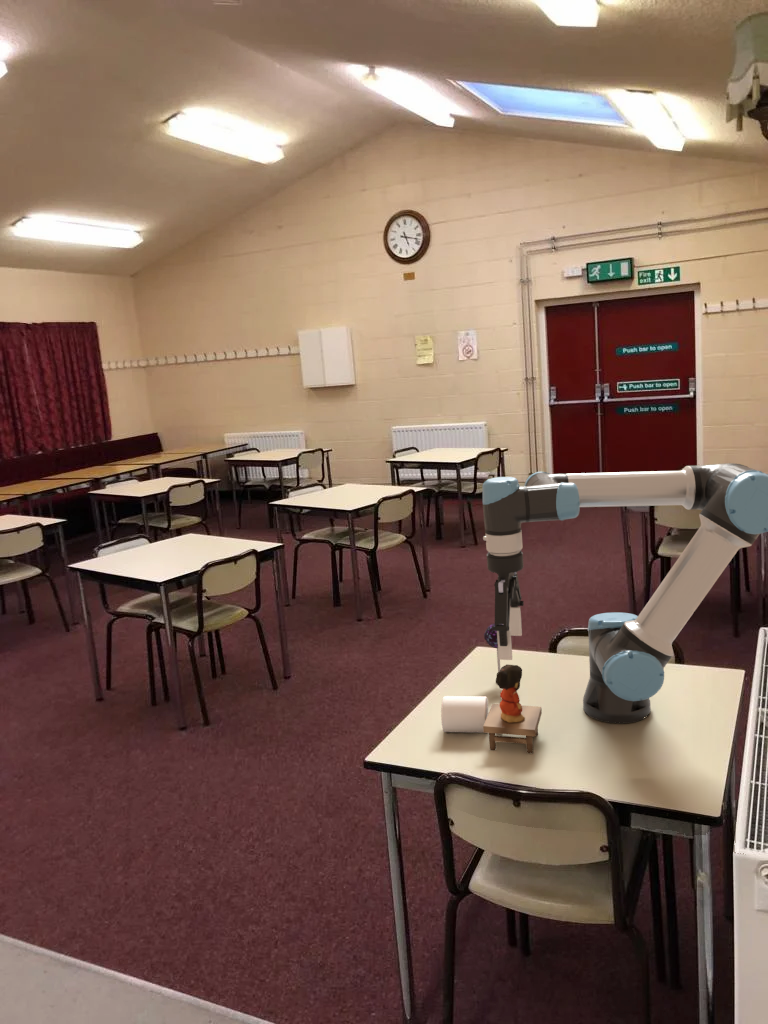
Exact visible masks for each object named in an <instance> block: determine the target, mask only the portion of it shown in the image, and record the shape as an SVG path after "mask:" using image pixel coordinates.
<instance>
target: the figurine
mask: <svg viewBox="0 0 768 1024" xmlns="http://www.w3.org/2000/svg"><path fill="white" fill-rule="evenodd" d="M522 676H523V669H522V667H521V666H519V665H518V664H517V665H515V664H505V665H503V666H502V667H500V671H499V672H498V671H497V673H496V676H495V677H496V678H495V684H496V685H497V686H498V688H499V689H501V692H499V693H500V698H501V701H500V702H499V704H500V708H501V711H502V713H501V719H503V720H504V721H507V722H508V723H512V722H520V721H522V720H524V719H525V717H524V716H523V715H522V714H521V712H522V706H523V705H522V704H521V703H520V701H521V699H520V695H519V693H518V692H517V691H519V689H520V687H521V680H522ZM521 705H522V706H521Z"/></svg>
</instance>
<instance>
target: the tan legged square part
mask: <svg viewBox="0 0 768 1024" xmlns="http://www.w3.org/2000/svg"><path fill="white" fill-rule="evenodd" d="M521 706H522V712H521V714H522V715H523V716H524V717H525V719H524V720H522V721H520V722H512V723H508V722H507V721H504V720H503V719H501V713H502V711H501V708H500V703H492V704H491V707H490V709H489V713H488V716H487V718H486V721H485V723H484V726H483V730H484V734H485V733H486V734H488V741H489V742H488V743H489V745H488V746H489V751H496V750H497V743H498V742H499V743H507V744H508V743H511V744H520V745H521V744H523V745H525V747H526V753H527V754H530V755H531V754H534V742H533V741H534V740H533V738H534V737H536V736H538V735H539V728H538V727H539V724H540V721H541V716H542V706H539V705H538V706H536V705H535V706H533V705H522V704H521ZM498 734H499V735H498ZM506 735H510V736H506ZM511 735H512V736H511ZM518 736H523V737H518Z"/></svg>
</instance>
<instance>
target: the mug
mask: <svg viewBox="0 0 768 1024" xmlns="http://www.w3.org/2000/svg"><path fill="white" fill-rule="evenodd" d="M440 708H441V709H440V710H441V711H440V713H441V714H440V715H441V716H440V717H441V728H442V731H443V733H478V734H479V733H481V734H482V733H484V730H483V726H484V723H485V721H486V718H487V716H488V713H489V711H490V709H489V701H488V697H487V696H485V695H484V696H480V695H478V696H476V695H475V696H474V695H473V696H472V695H471V696H470V695H469V696H466V695H465V696H464V695H444V696H443V697H442V700H441V707H440ZM484 734H485V733H484Z"/></svg>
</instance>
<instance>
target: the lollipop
mask: <svg viewBox="0 0 768 1024" xmlns="http://www.w3.org/2000/svg"><path fill="white" fill-rule="evenodd" d="M500 625H504V624H500ZM493 627H495V622H494V623H491V624H490V625H488V626H487V627H486V629H485V632H484V633H483V638H484V640H485V641H486V643H487V645H488V646H490V647H491V648H495V649H496V657H497V659H496V660H497V673H498V672H499V671H500V669H501V660H499V655H498V641H497V631H493Z"/></svg>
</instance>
